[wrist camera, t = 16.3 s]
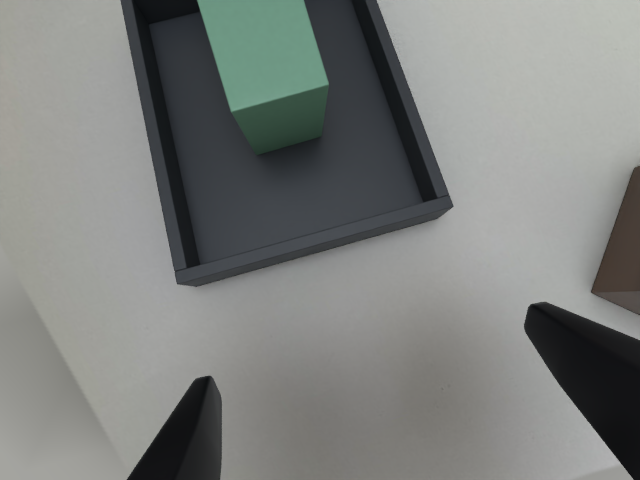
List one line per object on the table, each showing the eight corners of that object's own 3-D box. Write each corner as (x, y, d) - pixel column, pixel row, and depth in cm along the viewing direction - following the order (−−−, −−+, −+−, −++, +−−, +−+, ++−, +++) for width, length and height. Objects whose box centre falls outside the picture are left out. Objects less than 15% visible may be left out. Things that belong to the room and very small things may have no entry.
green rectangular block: (322, 136, 24) (266, -48, 24) (329, 84, 16) (246, -191, 16) (256, 155, 24) (200, -30, 24) (230, 112, 16) (146, -167, 16)
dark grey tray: (437, 218, 23) (454, 206, 20) (195, 286, 23) (176, 284, 20) (348, -29, 27) (351, -68, 25) (140, 23, 27) (117, -11, 24)
